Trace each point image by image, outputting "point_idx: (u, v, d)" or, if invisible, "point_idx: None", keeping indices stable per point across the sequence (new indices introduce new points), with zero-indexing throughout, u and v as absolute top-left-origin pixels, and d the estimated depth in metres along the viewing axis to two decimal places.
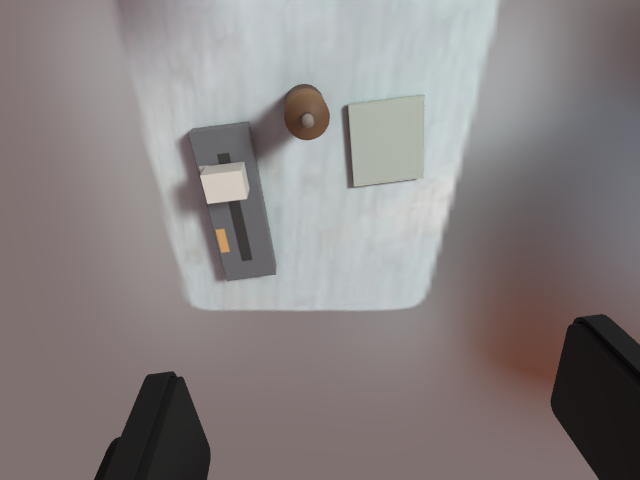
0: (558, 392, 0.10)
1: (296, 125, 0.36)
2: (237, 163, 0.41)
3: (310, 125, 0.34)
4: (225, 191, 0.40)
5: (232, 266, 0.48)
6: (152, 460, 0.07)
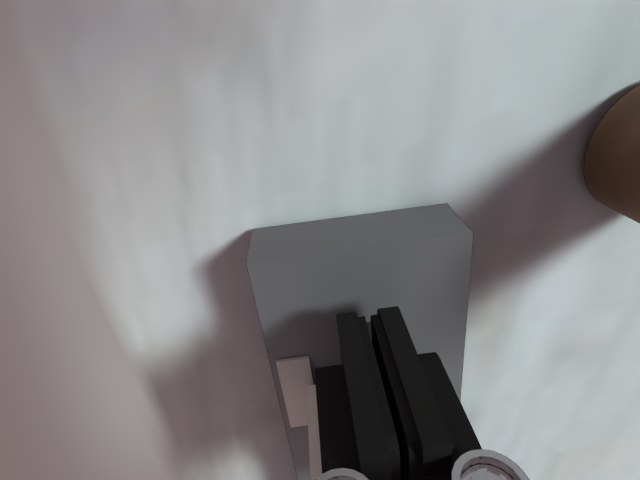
0: None
1: None
2: None
3: None
4: None
5: None
6: (380, 375, 0.08)
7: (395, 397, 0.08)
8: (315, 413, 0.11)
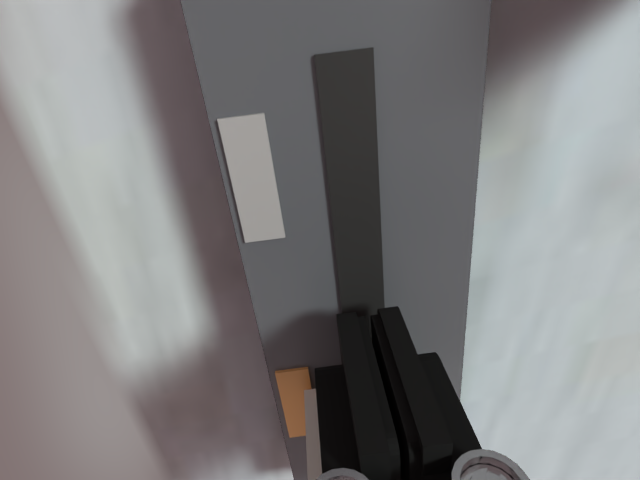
0: None
1: None
2: None
3: None
4: None
5: None
6: (380, 375, 0.08)
7: (395, 397, 0.08)
8: (313, 418, 0.11)
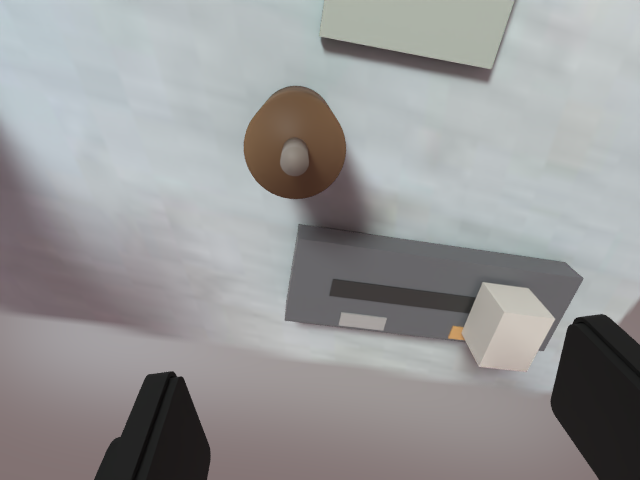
0: (558, 392, 0.10)
1: (312, 174, 0.16)
2: (482, 294, 0.24)
3: (302, 156, 0.14)
4: (523, 343, 0.23)
5: None
6: (152, 460, 0.07)
7: None
8: (468, 340, 0.25)
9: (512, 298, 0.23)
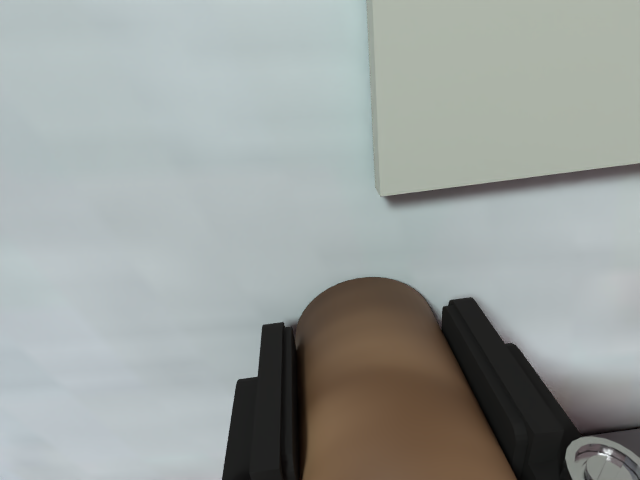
0: None
1: None
2: None
3: None
4: None
5: None
6: (291, 388, 0.08)
7: (490, 386, 0.08)
8: None
9: None
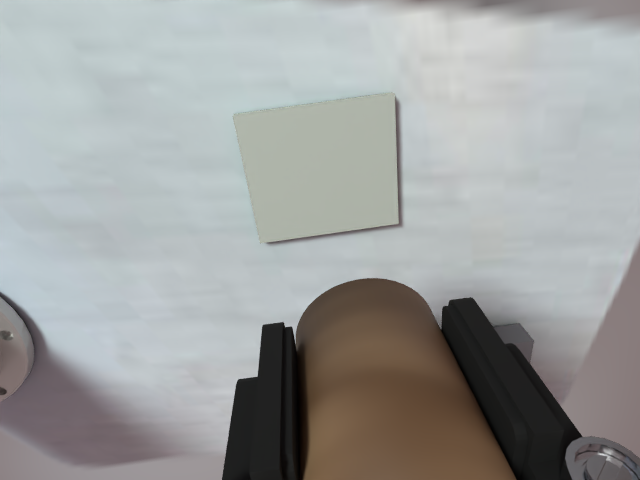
0: None
1: None
2: None
3: None
4: None
5: None
6: (292, 388, 0.08)
7: (490, 386, 0.08)
8: None
9: None
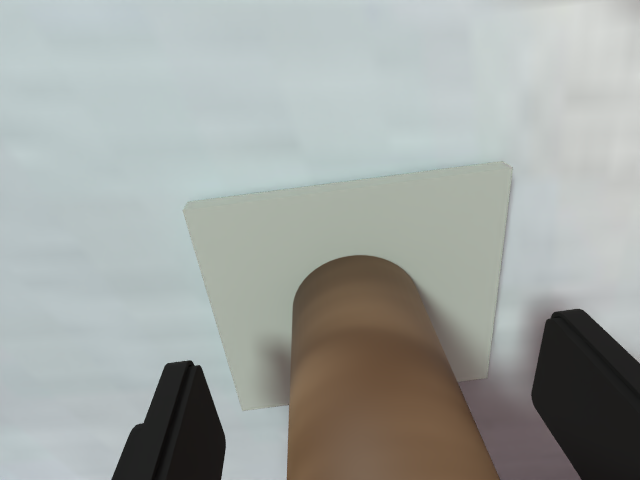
0: (538, 385, 0.10)
1: None
2: None
3: None
4: None
5: None
6: (176, 443, 0.07)
7: (636, 411, 0.07)
8: None
9: None
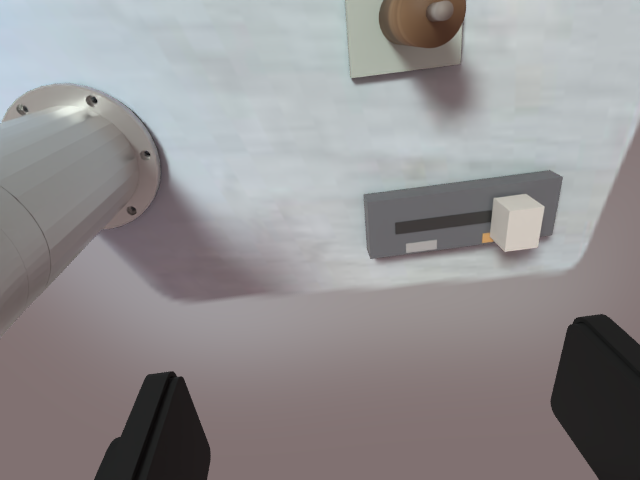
0: (558, 392, 0.10)
1: (448, 23, 0.25)
2: (495, 206, 0.36)
3: (448, 4, 0.23)
4: (528, 228, 0.35)
5: None
6: (152, 460, 0.07)
7: None
8: (494, 239, 0.37)
9: (514, 202, 0.35)
